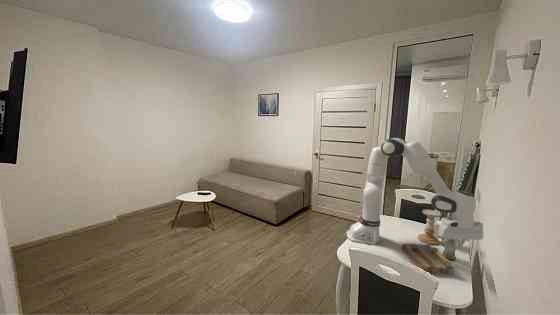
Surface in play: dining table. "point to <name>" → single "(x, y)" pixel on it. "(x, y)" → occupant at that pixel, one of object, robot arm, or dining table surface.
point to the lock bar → (440, 257)
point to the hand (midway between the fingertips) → (458, 245)
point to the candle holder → (430, 228)
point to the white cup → (436, 228)
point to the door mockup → (426, 259)
